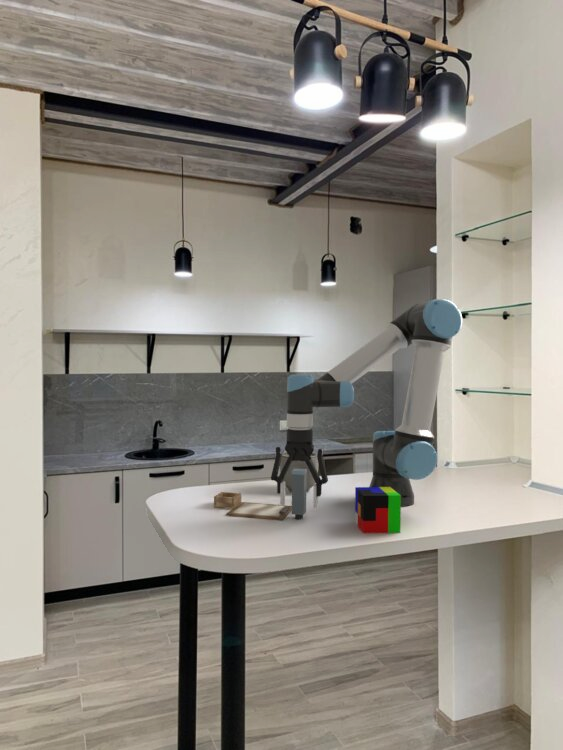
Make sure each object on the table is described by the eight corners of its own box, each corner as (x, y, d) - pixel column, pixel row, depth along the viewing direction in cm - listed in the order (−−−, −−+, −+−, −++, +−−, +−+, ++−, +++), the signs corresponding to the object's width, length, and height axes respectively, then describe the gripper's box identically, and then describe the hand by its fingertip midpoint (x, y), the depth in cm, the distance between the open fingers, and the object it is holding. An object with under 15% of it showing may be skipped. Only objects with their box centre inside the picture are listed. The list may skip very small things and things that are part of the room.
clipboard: (294, 507, 169) (294, 503, 169) (282, 520, 156) (282, 515, 156) (242, 503, 174) (242, 499, 174) (226, 515, 160) (226, 510, 160)
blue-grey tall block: (306, 517, 159) (306, 469, 159) (303, 520, 156) (304, 471, 156) (294, 516, 160) (294, 468, 160) (291, 519, 157) (291, 470, 157)
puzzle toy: (355, 522, 155) (355, 487, 154) (389, 522, 155) (390, 486, 155) (363, 533, 145) (363, 495, 144) (400, 532, 145) (400, 495, 145)
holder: (241, 503, 174) (241, 493, 174) (234, 509, 167) (234, 498, 167) (221, 502, 175) (221, 491, 175) (213, 507, 169) (213, 496, 169)
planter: (272, 493, 188) (273, 455, 188) (287, 485, 201) (287, 449, 201) (311, 497, 183) (311, 458, 183) (323, 488, 196) (324, 452, 196)
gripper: (339, 428, 158) (338, 505, 159) (267, 425, 164) (266, 500, 164) (335, 431, 151) (334, 512, 152) (259, 428, 157) (259, 506, 157)
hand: (299, 506), depth 158 cm, fingers open, 9 cm apart
